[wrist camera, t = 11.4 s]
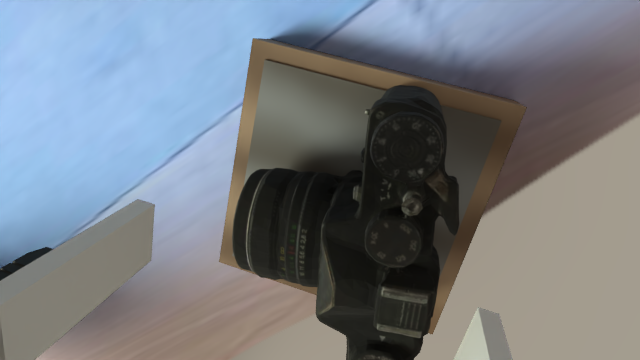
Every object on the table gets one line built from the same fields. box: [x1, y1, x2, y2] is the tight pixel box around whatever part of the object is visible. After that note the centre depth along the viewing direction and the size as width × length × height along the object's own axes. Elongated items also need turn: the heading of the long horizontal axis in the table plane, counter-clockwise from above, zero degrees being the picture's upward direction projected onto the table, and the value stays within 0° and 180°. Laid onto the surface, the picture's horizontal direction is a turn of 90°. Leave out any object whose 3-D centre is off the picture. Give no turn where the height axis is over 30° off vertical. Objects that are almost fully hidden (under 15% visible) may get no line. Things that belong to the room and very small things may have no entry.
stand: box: [219, 38, 527, 334], centre depth 27 cm, size 16×16×3 cm
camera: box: [232, 85, 459, 360], centre depth 21 cm, size 14×11×10 cm
